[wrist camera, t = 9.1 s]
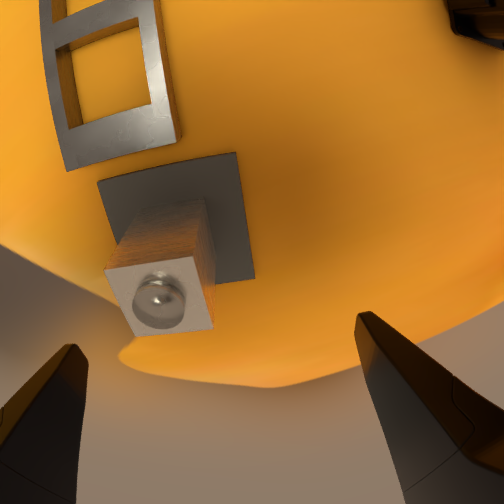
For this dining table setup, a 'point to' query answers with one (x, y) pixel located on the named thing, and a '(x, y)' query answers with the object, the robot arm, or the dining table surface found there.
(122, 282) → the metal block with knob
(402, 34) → the dining table surface
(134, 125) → the grey metal frame
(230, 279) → the mat
